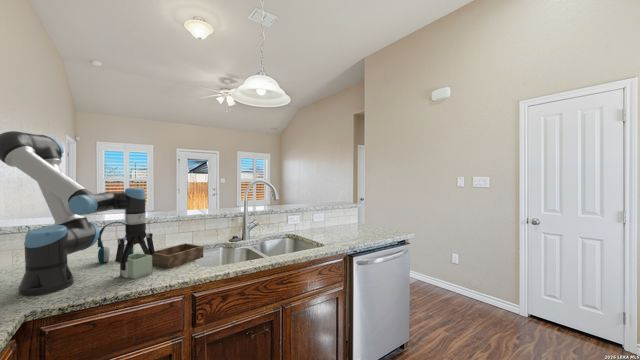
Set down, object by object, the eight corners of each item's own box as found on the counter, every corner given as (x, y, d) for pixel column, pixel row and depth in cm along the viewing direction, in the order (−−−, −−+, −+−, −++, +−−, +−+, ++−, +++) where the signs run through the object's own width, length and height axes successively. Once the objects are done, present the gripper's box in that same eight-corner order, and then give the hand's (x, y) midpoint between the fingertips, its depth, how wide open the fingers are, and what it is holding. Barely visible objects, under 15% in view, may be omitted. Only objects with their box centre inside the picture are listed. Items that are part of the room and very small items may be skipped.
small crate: (133, 279, 115) (133, 260, 115) (119, 275, 120) (119, 257, 120) (152, 273, 123) (152, 255, 122) (138, 269, 127) (138, 252, 127)
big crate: (168, 268, 128) (168, 256, 128) (149, 264, 135) (149, 252, 134) (203, 257, 146) (203, 246, 146) (185, 253, 153) (185, 243, 152)
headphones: (98, 261, 139) (98, 222, 139) (133, 256, 148) (133, 219, 147) (96, 265, 133) (96, 224, 132) (133, 260, 141) (133, 221, 141)
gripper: (114, 227, 110) (114, 283, 110) (163, 220, 128) (164, 268, 129) (103, 226, 113) (104, 280, 113) (153, 218, 132) (154, 265, 132)
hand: (136, 273), depth 121 cm, fingers closed on small crate, 8 cm apart
